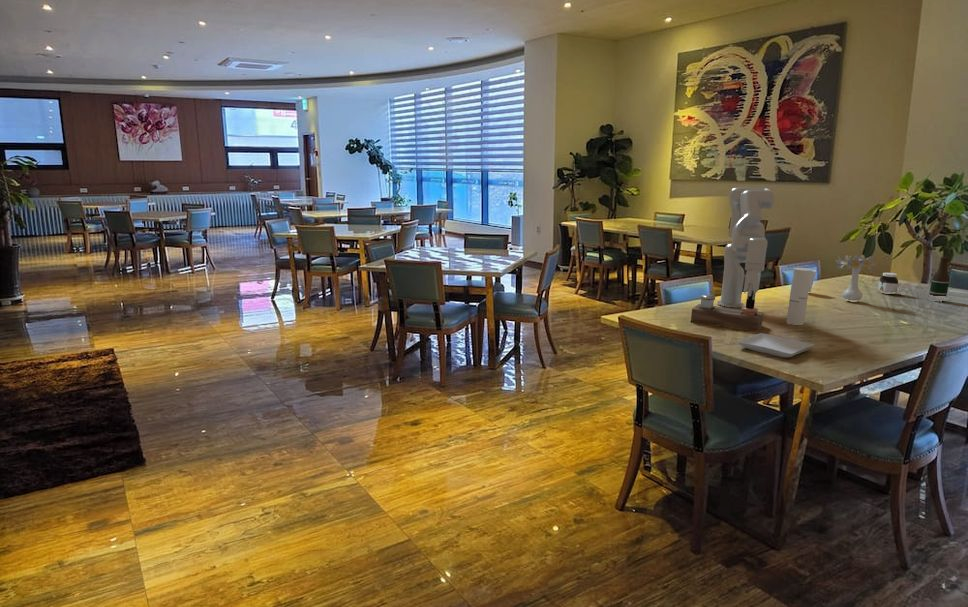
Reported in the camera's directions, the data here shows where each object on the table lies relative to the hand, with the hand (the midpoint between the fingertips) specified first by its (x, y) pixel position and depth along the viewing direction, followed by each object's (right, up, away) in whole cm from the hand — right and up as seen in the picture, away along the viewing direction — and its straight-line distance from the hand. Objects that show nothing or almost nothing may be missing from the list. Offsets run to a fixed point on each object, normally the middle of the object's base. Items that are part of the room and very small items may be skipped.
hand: (749, 308), depth 269 cm
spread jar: (+115, +7, +81) cm, 141 cm away
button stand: (-8, -7, +7) cm, 12 cm away
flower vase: (+79, +3, +59) cm, 98 cm away
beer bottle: (+129, +3, +65) cm, 145 cm away
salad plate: (-4, -16, -31) cm, 35 cm away
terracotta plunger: (0, -6, +1) cm, 6 cm away
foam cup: (+65, +8, +80) cm, 103 cm away
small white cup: (-15, -1, +10) cm, 18 cm away
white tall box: (+24, -7, +9) cm, 27 cm away
